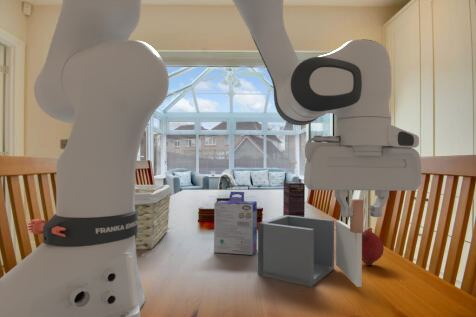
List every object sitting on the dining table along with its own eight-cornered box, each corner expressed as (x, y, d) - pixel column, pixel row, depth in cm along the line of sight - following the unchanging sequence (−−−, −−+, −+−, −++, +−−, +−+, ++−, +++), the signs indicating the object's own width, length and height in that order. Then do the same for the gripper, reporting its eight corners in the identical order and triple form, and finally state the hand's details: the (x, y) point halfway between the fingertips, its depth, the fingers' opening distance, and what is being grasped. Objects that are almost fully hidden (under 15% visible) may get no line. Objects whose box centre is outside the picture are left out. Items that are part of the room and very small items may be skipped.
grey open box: (311, 286, 58) (311, 230, 58) (257, 274, 64) (258, 223, 64) (334, 268, 68) (334, 220, 68) (285, 259, 74) (285, 215, 74)
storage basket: (154, 252, 81) (154, 191, 81) (87, 252, 80) (87, 191, 80) (172, 231, 105) (172, 184, 105) (120, 231, 104) (120, 184, 104)
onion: (371, 271, 67) (371, 231, 67) (348, 263, 72) (348, 226, 72) (389, 266, 70) (389, 228, 70) (365, 259, 75) (365, 223, 75)
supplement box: (305, 238, 94) (305, 183, 94) (288, 239, 94) (288, 183, 94) (298, 232, 103) (298, 181, 103) (282, 232, 102) (282, 181, 103)
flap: (365, 286, 56) (365, 200, 56) (352, 286, 56) (352, 200, 56) (343, 264, 68) (343, 193, 68) (332, 264, 68) (332, 193, 68)
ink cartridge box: (257, 249, 82) (257, 191, 83) (253, 256, 77) (254, 193, 77) (219, 247, 85) (219, 190, 85) (213, 253, 79) (213, 192, 79)
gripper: (312, 133, 53) (310, 220, 53) (428, 137, 56) (426, 219, 56) (299, 136, 59) (297, 213, 59) (404, 139, 62) (402, 213, 62)
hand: (361, 216), depth 57 cm, fingers open, 4 cm apart
